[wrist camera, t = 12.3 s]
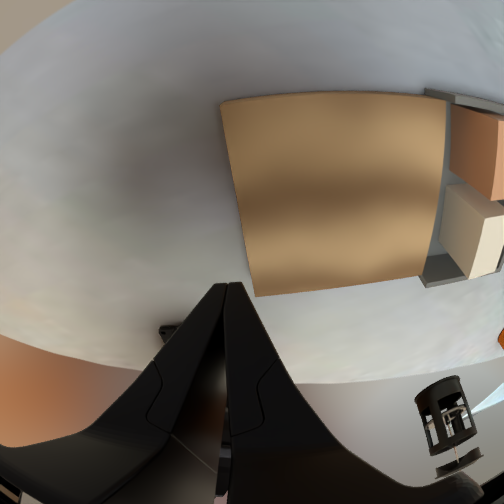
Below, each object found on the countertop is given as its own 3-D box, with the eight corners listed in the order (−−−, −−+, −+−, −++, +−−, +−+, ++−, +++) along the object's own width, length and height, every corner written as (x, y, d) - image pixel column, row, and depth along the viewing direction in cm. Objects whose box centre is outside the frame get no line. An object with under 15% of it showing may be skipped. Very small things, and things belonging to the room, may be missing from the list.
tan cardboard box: (449, 170, 16) (476, 168, 16) (490, 200, 12) (516, 197, 12) (450, 103, 13) (478, 106, 13) (498, 120, 9) (525, 124, 9)
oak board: (409, 255, 21) (421, 274, 19) (255, 274, 22) (255, 297, 20) (424, 95, 14) (445, 100, 12) (224, 101, 15) (219, 105, 13)
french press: (403, 400, 39) (427, 515, 20) (447, 371, 34) (483, 493, 15) (430, 404, 42) (453, 499, 23) (467, 379, 38) (498, 478, 19)
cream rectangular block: (438, 240, 20) (464, 235, 19) (468, 279, 16) (494, 271, 15) (446, 185, 17) (473, 182, 16) (484, 218, 13) (511, 213, 12)
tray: (481, 249, 21) (499, 271, 18) (408, 260, 21) (425, 288, 18) (506, 105, 13) (535, 116, 10) (424, 88, 13) (455, 95, 11)
